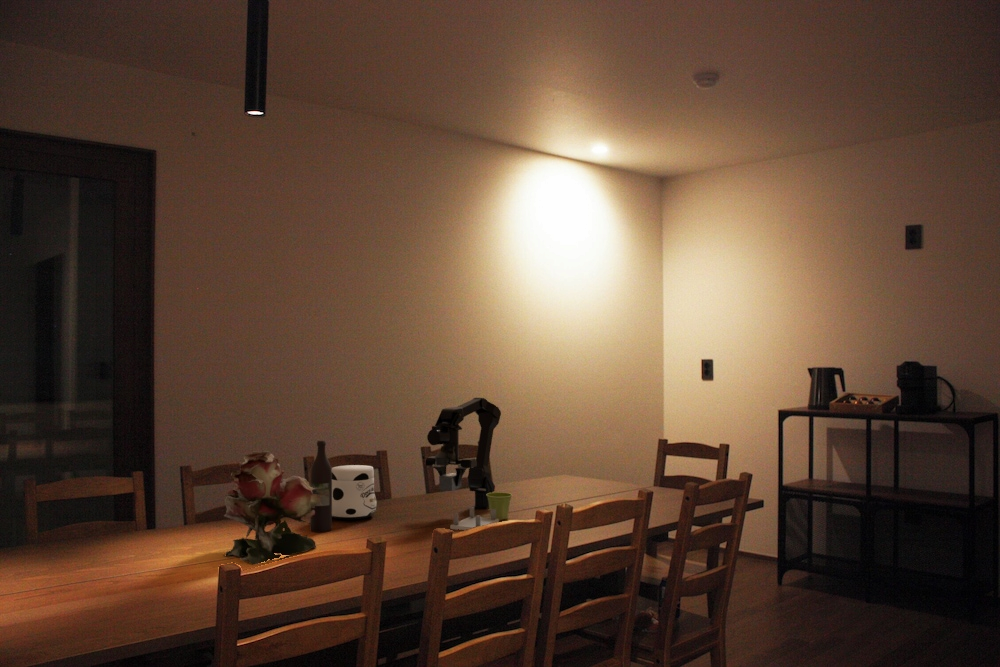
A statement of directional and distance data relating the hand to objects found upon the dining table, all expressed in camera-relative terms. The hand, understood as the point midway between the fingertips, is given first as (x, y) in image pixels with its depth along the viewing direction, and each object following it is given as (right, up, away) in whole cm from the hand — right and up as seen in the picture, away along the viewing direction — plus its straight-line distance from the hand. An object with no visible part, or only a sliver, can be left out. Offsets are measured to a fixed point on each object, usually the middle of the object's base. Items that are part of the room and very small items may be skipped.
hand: (450, 485), depth 291 cm
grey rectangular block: (0, -1, 0) cm, 1 cm away
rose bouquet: (-53, -10, -50) cm, 74 cm away
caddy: (+9, -11, -17) cm, 22 cm away
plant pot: (+18, -11, -5) cm, 22 cm away
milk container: (-36, -11, -2) cm, 37 cm away
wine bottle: (-42, -11, -23) cm, 49 cm away
